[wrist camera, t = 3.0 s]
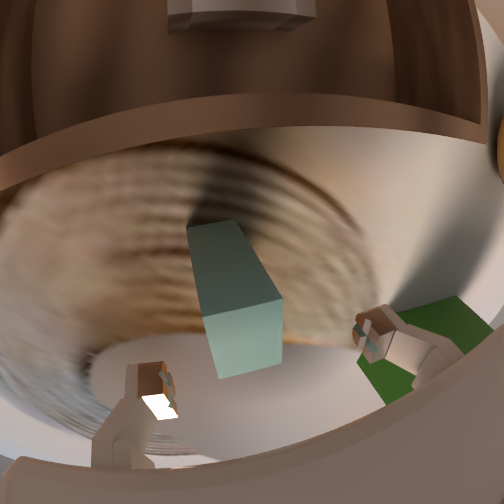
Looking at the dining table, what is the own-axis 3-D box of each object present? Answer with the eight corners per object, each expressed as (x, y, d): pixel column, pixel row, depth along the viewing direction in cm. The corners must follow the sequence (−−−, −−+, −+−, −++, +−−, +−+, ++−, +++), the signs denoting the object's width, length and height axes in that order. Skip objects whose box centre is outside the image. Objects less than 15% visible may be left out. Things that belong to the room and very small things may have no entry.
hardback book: (456, 295, 32) (552, 395, 12) (435, 333, 35) (518, 430, 15) (379, 317, 27) (506, 480, 6) (356, 362, 30) (454, 509, 10)
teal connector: (196, 282, 18) (218, 379, 11) (185, 227, 16) (202, 317, 9) (240, 273, 19) (281, 362, 12) (234, 218, 17) (282, 298, 10)
